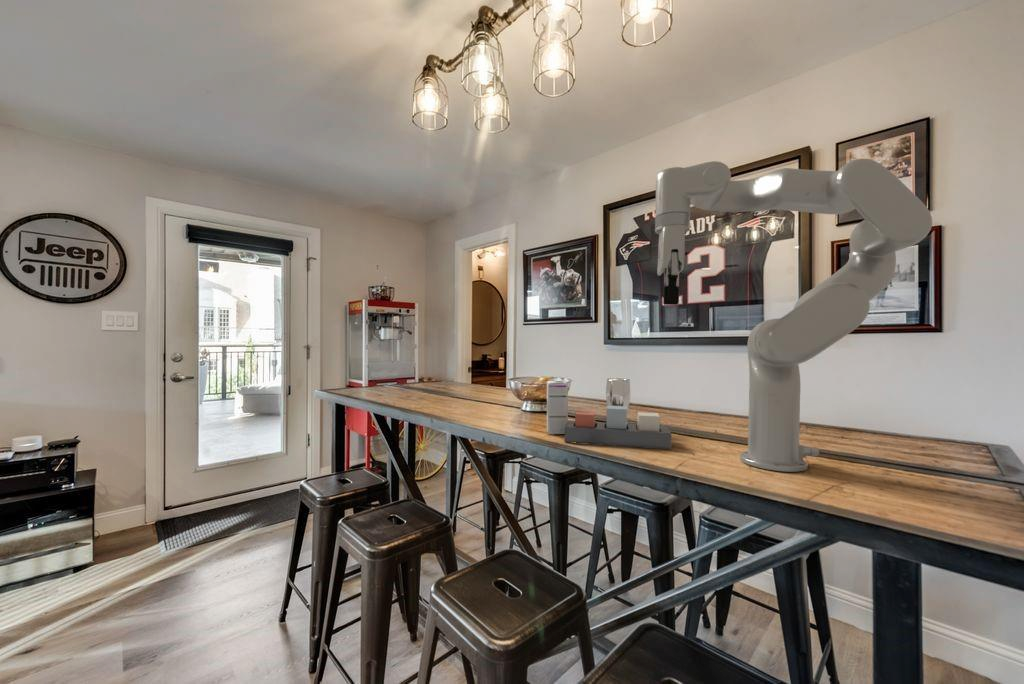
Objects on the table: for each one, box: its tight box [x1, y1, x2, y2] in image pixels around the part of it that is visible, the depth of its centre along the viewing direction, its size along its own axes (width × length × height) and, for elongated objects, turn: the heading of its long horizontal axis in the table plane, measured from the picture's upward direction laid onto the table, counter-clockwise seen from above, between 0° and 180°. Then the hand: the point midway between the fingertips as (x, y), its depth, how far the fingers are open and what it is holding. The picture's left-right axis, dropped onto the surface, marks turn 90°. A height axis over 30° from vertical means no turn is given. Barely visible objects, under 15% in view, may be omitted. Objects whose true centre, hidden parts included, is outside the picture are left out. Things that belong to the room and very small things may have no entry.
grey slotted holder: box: [563, 420, 672, 451], centre depth 112 cm, size 9×26×4 cm, turn 77°
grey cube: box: [605, 405, 628, 429], centre depth 112 cm, size 5×5×5 cm
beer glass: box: [605, 377, 631, 414], centre depth 126 cm, size 7×7×15 cm
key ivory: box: [637, 411, 661, 432], centre depth 110 cm, size 5×5×5 cm
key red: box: [574, 410, 596, 428], centre depth 113 cm, size 5×5×5 cm
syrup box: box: [546, 380, 569, 435], centre depth 122 cm, size 6×6×14 cm
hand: (670, 304), depth 99 cm, fingers closed
